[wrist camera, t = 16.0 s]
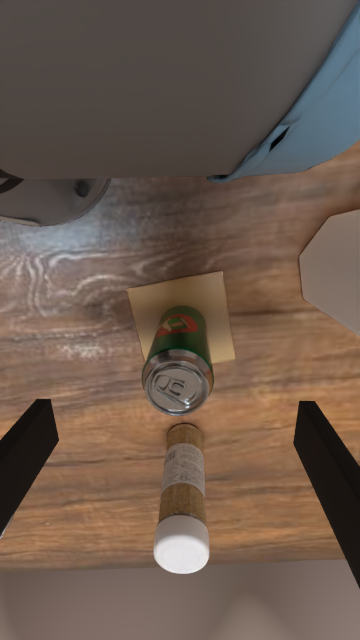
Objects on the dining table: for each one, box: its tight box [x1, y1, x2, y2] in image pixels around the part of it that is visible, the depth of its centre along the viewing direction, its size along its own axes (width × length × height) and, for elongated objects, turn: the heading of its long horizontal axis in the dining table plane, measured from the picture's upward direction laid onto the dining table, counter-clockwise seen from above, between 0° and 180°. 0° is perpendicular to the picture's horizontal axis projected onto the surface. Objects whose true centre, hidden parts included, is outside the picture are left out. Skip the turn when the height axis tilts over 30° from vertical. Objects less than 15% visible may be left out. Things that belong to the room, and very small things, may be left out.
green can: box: [142, 306, 214, 416], centre depth 24 cm, size 5×5×12 cm
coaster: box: [126, 271, 236, 363], centre depth 30 cm, size 10×10×1 cm
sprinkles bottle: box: [154, 424, 209, 574], centre depth 28 cm, size 5×5×14 cm
